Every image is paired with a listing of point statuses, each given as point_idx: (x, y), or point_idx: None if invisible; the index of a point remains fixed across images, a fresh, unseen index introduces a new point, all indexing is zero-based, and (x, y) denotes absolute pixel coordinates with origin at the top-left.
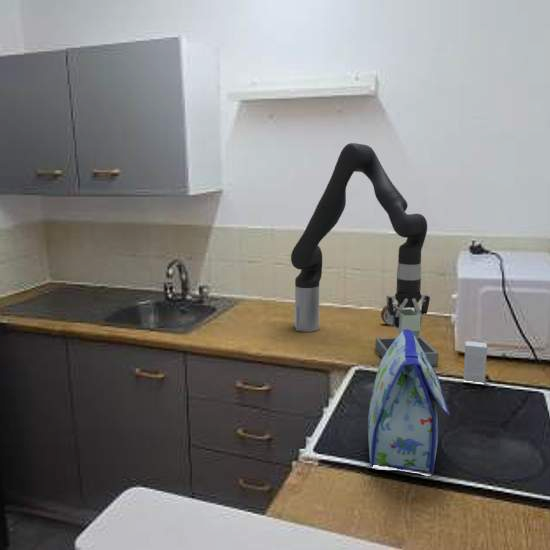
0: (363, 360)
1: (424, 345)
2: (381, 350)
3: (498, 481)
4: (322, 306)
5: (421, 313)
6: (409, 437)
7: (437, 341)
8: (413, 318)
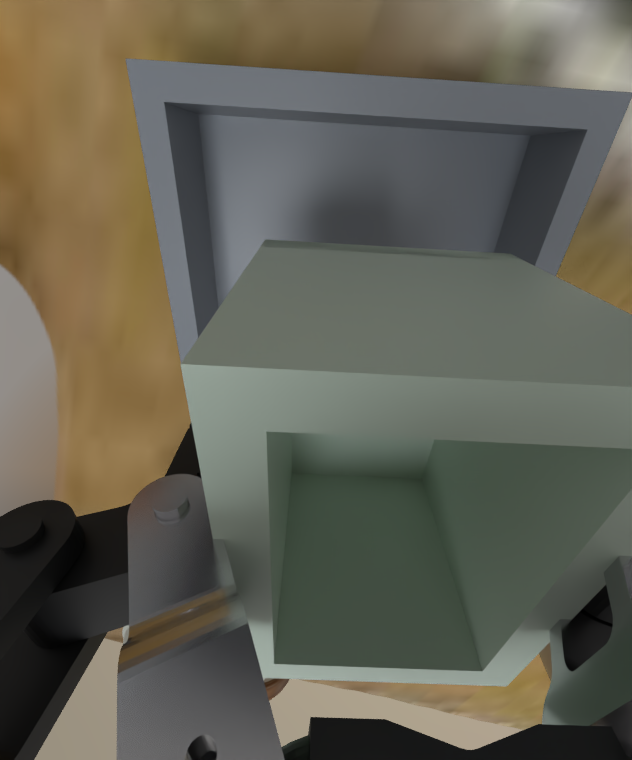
0: (603, 294)
1: None
2: None
3: None
4: (412, 700)
5: (129, 519)
6: None
7: (115, 464)
8: (400, 333)
